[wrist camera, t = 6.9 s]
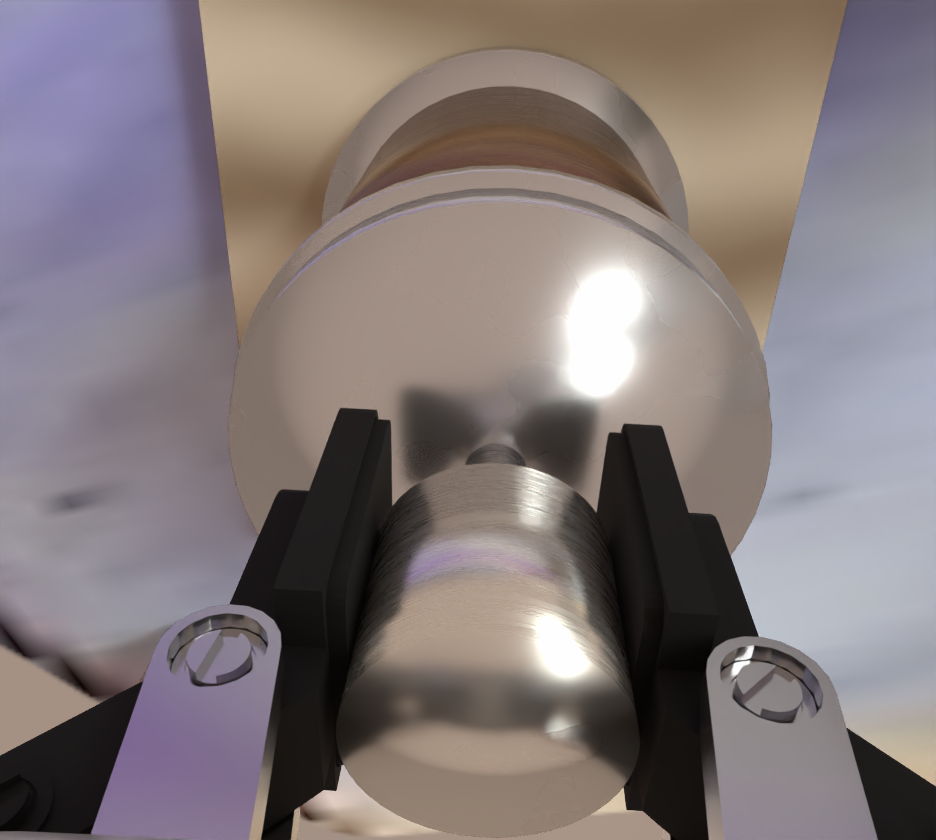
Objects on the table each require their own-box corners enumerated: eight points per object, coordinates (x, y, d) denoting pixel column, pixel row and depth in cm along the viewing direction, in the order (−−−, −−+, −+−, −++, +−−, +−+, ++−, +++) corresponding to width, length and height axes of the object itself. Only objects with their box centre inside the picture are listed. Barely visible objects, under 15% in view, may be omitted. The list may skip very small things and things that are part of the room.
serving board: (179, -317, 18) (159, -332, 17) (898, -291, 18) (922, -305, 17) (271, 529, 31) (262, 550, 30) (700, 554, 30) (707, 576, 29)
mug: (318, 37, 21) (159, 118, 11) (713, 55, 21) (880, 152, 11) (340, 462, 27) (250, 734, 18) (639, 479, 27) (705, 763, 18)
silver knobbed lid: (213, 173, 12) (-25, 358, 7) (818, 202, 12) (1066, 417, 6) (266, 616, 16) (149, 936, 11) (705, 642, 16) (797, 982, 11)
